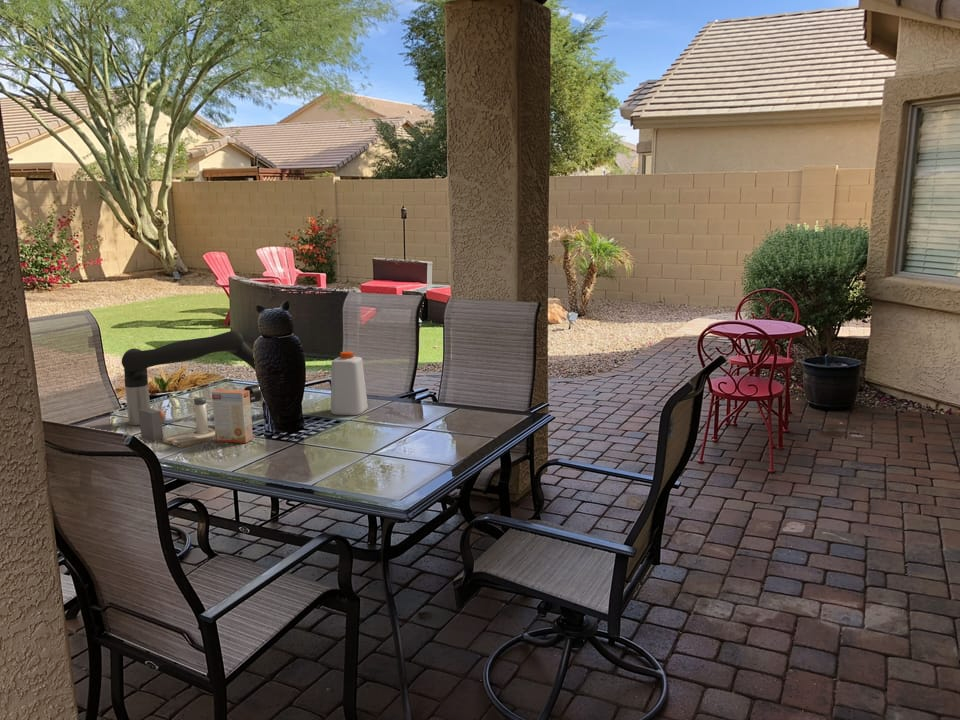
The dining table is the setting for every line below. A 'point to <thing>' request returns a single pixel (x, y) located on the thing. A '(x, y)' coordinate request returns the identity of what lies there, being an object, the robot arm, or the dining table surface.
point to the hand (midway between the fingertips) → (225, 400)
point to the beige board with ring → (190, 438)
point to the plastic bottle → (348, 385)
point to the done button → (162, 415)
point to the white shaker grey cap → (201, 414)
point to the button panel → (150, 424)
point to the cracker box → (232, 416)
